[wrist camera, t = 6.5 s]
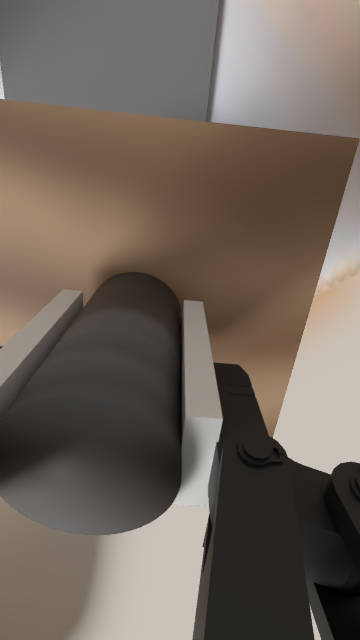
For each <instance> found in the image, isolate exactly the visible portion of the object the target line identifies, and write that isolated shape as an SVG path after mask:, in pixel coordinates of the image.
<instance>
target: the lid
mask: <svg viewBox="0 0 360 640" xmlns="http://www.w3.org/2000/svg"><path fill="white" fill-rule="evenodd" d="M358 142H359V139H357V138H348V137H339V136H330V135H321V134H312V133H303V132H294V131H285V130H276V129H267V128H258V127H249V126H240V125H231V124H222V123H213V122H203V121H194V120H185V119H176V118H167V117H158V116H149V115H140V114H131V113H122V112H113V111H104V110H95V109H86V108H77V107H68V106H59V105H49V104H40V103H31V102H22V101H13V100H4V99H0V346H4V345H5V344H6V343H7V342H8V341H9V340H10V339H11V338H13V337H14V336H15V335H16V334H17V333H18V332H19V331H20V330H21V329H22V328H23V327H24V326H25V325H26V324H27V323H28V322H29V321H30V320H31V319H32V318H34V317H35V316H36V315H37V314H38V313H39V312H40V311H41V310H42V309H43V308H44V307H45V306H46V305H47V304H48V303H49V302H50V301H51V300H52V299H53V298H55V297H56V296H57V295H58V294H59V293H60V292H61V291H62V290H63V289H66V290H77V291H83V309H82V310H81V312H80V313H79V314H78V316H77V317H76V319H75V320H74V321H73V323H72V324H71V325H70V327H69V328H68V329H67V331H66V332H65V333H64V335H63V336H62V337H61V339H60V340H59V341H58V343H57V344H56V345H55V347H54V348H53V349H52V351H51V352H50V353H49V355H48V356H47V357H46V359H45V360H44V361H43V363H42V364H41V365H40V367H39V368H38V369H37V371H36V372H35V373H34V375H33V376H32V377H31V379H30V380H29V381H28V383H27V384H26V385H25V387H24V388H23V389H22V391H21V392H20V393H19V395H18V396H17V397H16V399H15V400H14V401H13V403H12V404H11V406H10V407H9V408H8V410H7V411H6V412H5V414H4V415H3V416H2V418H1V419H0V496H1V497H2V498H3V499H4V500H5V501H6V502H7V503H8V504H9V505H11V507H13V508H14V509H15V510H17V511H18V512H19V513H21V514H22V515H24V516H26V517H27V518H29V519H31V520H33V521H35V522H38V523H40V524H42V525H44V526H47V527H50V528H53V529H57V530H60V531H64V532H69V533H74V534H84V535H110V534H117V533H122V532H126V531H130V530H133V529H137V528H139V527H142V526H144V525H146V524H148V523H150V522H152V521H153V520H155V519H157V518H158V517H159V516H161V515H162V514H163V513H164V512H165V511H166V510H167V509H168V508H169V507H170V506H171V505H172V503H173V502H174V500H175V499H176V497H177V494H178V492H179V490H180V486H181V480H182V454H181V321H182V311H183V302H184V300H190V301H201V302H203V306H204V312H205V318H206V324H207V329H208V335H209V341H210V347H211V353H212V359H213V362H215V363H227V364H239V365H240V366H241V368H242V369H243V370H244V371H245V372H246V373H247V374H248V375H249V378H250V381H251V384H252V388H253V390H254V393H255V398H256V399H257V402H258V405H259V408H260V411H261V414H262V416H263V419H264V422H265V425H266V428H267V431H268V434H269V436H270V437H272V438H273V434H274V431H275V427H276V424H277V420H278V417H279V414H280V410H281V407H282V403H283V400H284V396H285V393H286V390H287V386H288V383H289V379H290V376H291V372H292V369H293V366H294V362H295V359H296V355H297V352H298V348H299V345H300V341H301V338H302V335H303V331H304V328H305V324H306V321H307V318H308V314H309V311H310V307H311V304H312V300H313V297H314V293H315V290H316V287H317V283H318V280H319V276H320V273H321V269H322V266H323V263H324V259H325V256H326V252H327V249H328V245H329V242H330V239H331V235H332V232H333V228H334V225H335V221H336V218H337V215H338V211H339V208H340V204H341V201H342V197H343V194H344V191H345V187H346V184H347V180H348V177H349V173H350V170H351V166H352V163H353V160H354V156H355V153H356V149H357V146H358Z"/></svg>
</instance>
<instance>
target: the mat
mask: <svg viewBox="0 0 360 640" xmlns="http://www.w3.org/2000/svg"><path fill="white" fill-rule="evenodd" d="M218 7H219V0H0V62H1V71H2V79H3V87H4V96H5V100H13V101H22V102H31V103H40V104H49V105H59V106H68V107H77V108H86V109H95V110H104V111H113V112H122V113H131V114H140V115H149V116H158V117H167V118H176V119H185V120H194V121H203V122H206V118H207V108H208V99H209V90H210V81H211V71H212V62H213V53H214V44H215V35H216V25H217V16H218Z"/></svg>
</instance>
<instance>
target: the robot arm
mask: <svg viewBox="0 0 360 640" xmlns="http://www.w3.org/2000/svg"><path fill="white" fill-rule="evenodd" d="M82 309H83V291H77V290H66V289H63V290H62V291H61V292H60V293H59V294H58V295H57V296H56V297H55V298H53V299H52V300H51V301H50V302H49V303H48V304H47V305H46V306H45V307H44V308H43V309H42V310H41V311H40V312H39V313H38V314H37V315H36V316H35V317H34V318H32V319H31V320H30V321H29V322H28V323H27V324H26V325H25V326H24V327H23V328H22V329H21V330H20V331H19V332H18V333H17V334H16V335H15V336H14V337H13V338H11V339H10V340H9V341H8V342H7V343H6V344H5V345H4V346H0V419H1V418H2V416H3V415H4V414H5V412H6V411H7V410H8V408H9V407H10V406H11V404H12V403H13V401H14V400H15V399H16V397H17V396H18V395H19V393H20V392H21V391H22V389H23V388H24V387H25V385H26V384H27V383H28V381H29V380H30V379H31V377H32V376H33V375H34V373H35V372H36V371H37V369H38V368H39V367H40V365H41V364H42V363H43V361H44V360H45V359H46V357H47V356H48V355H49V353H50V352H51V351H52V349H53V348H54V347H55V345H56V344H57V343H58V341H59V340H60V339H61V337H62V336H63V335H64V333H65V332H66V331H67V329H68V328H69V327H70V325H71V324H72V323H73V321H74V320H75V319H76V317H77V316H78V314H79V313H80V312H81V310H82ZM181 454H182V480H181V486H180V490H179V492H178V494H177V497H176V499H175V500H174V504H175V505H190V506H203V507H205V506H206V502H207V497H208V498H209V510H210V514H209V518H208V523H207V528H206V533H205V538H204V543H203V547H204V554H203V561H202V569H201V577H200V585H199V594H198V600H197V608H196V616H195V625H194V632H193V640H314V634H313V627H312V619H311V612H310V606H311V610H312V613H313V615H314V619H315V621H316V625H317V628H318V631H319V633H320V637H321V640H360V463H355V462H346V463H340V464H339V465H338V466H337V467H335V468H334V470H333V472H332V474H331V475H330V474H328V473H325V472H322V471H319V470H316V469H313V468H310V467H307V466H304V465H302V464H299V463H297V462H295V461H293V460H291V459H290V458H288V457H287V454H286V451H285V450H284V449H283V447H282V446H281V445H280V444H279V443H278V442H277V441H276V440H275V439H273V438H272V437H270V436H269V434H268V431H267V428H266V425H265V422H264V419H263V416H262V414H261V411H260V408H259V405H258V402H257V399H256V398H255V393H254V390H253V388H252V384H251V381H250V378H249V375H248V374H247V373H246V372H245V371H244V370H243V369H242V368H241V366H240V365H239V364H227V363H215V362H213V359H212V353H211V347H210V341H209V335H208V329H207V324H206V318H205V312H204V306H203V302H201V301H190V300H184V302H183V311H182V321H181ZM309 603H310V605H309Z"/></svg>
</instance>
